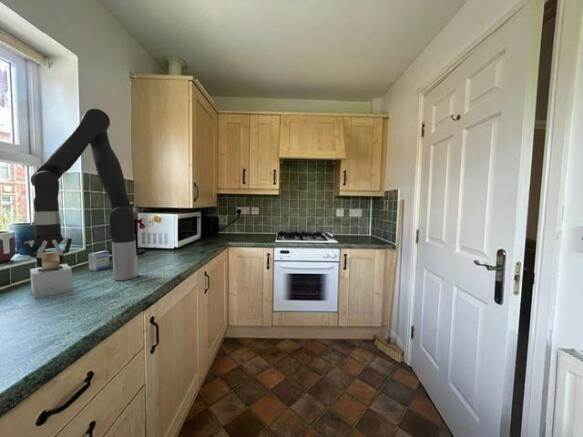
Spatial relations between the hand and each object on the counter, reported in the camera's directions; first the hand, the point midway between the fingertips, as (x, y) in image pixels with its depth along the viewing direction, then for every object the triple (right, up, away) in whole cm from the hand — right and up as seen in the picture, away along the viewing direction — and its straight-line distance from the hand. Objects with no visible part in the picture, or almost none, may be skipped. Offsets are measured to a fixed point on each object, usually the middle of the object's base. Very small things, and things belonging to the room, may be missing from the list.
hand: (50, 265), depth 101 cm
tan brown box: (0, -1, 0) cm, 1 cm away
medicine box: (-5, -8, +33) cm, 34 cm away
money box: (0, -10, +1) cm, 10 cm away
